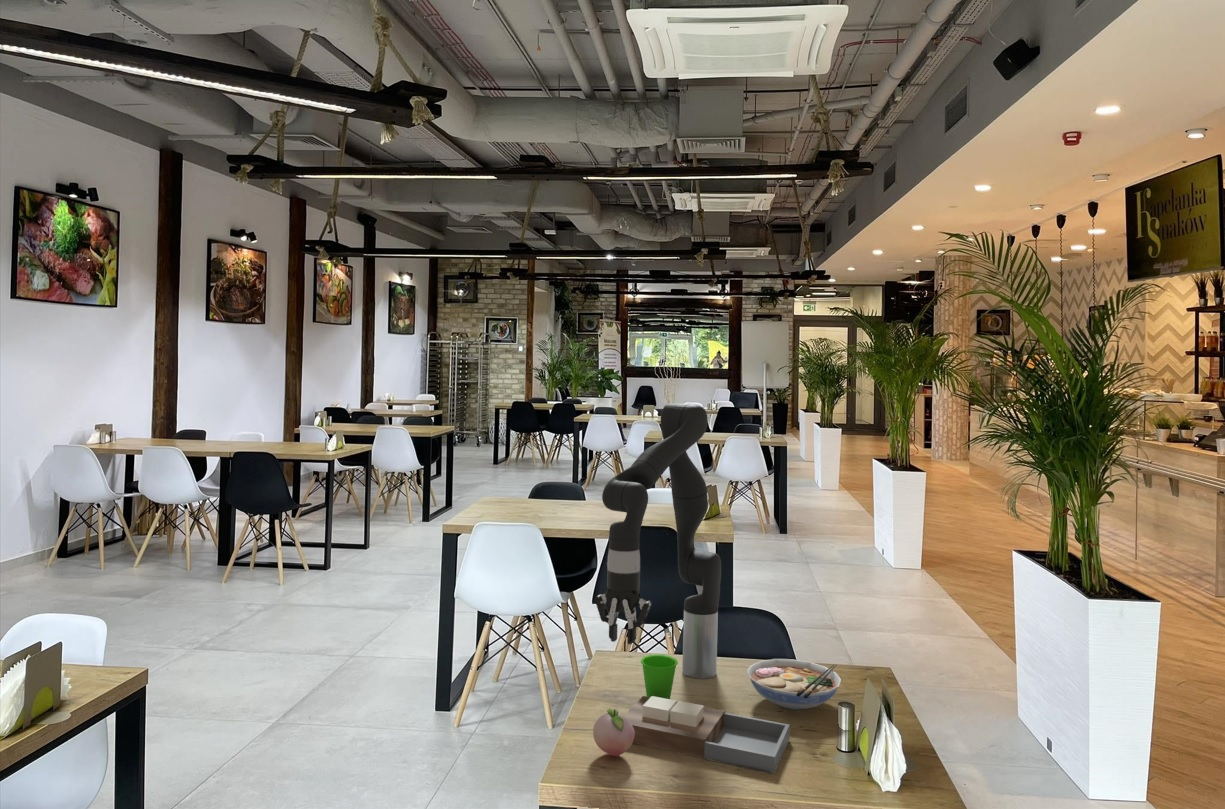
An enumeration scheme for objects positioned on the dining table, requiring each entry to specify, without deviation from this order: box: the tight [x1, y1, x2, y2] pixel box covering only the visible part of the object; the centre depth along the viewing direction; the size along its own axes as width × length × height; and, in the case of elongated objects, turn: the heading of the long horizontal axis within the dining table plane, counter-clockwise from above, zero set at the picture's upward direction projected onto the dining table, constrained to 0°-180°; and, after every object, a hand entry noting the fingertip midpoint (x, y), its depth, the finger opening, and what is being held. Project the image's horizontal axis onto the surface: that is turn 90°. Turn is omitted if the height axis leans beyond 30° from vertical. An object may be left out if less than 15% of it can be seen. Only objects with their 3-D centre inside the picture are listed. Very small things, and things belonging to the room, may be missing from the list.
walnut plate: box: [623, 695, 726, 759], centre depth 180 cm, size 16×20×4 cm
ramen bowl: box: [746, 658, 842, 711], centre depth 198 cm, size 25×23×8 cm
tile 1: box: [643, 696, 678, 722], centre depth 181 cm, size 6×6×2 cm
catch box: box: [703, 712, 791, 775], centre depth 173 cm, size 17×15×4 cm
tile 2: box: [670, 700, 705, 727], centre depth 178 cm, size 6×6×2 cm
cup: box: [640, 654, 678, 699], centre depth 195 cm, size 9×9×11 cm
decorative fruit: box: [592, 708, 635, 757], centre depth 169 cm, size 9×8×10 cm
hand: (622, 641), depth 184 cm, fingers open, 3 cm apart
